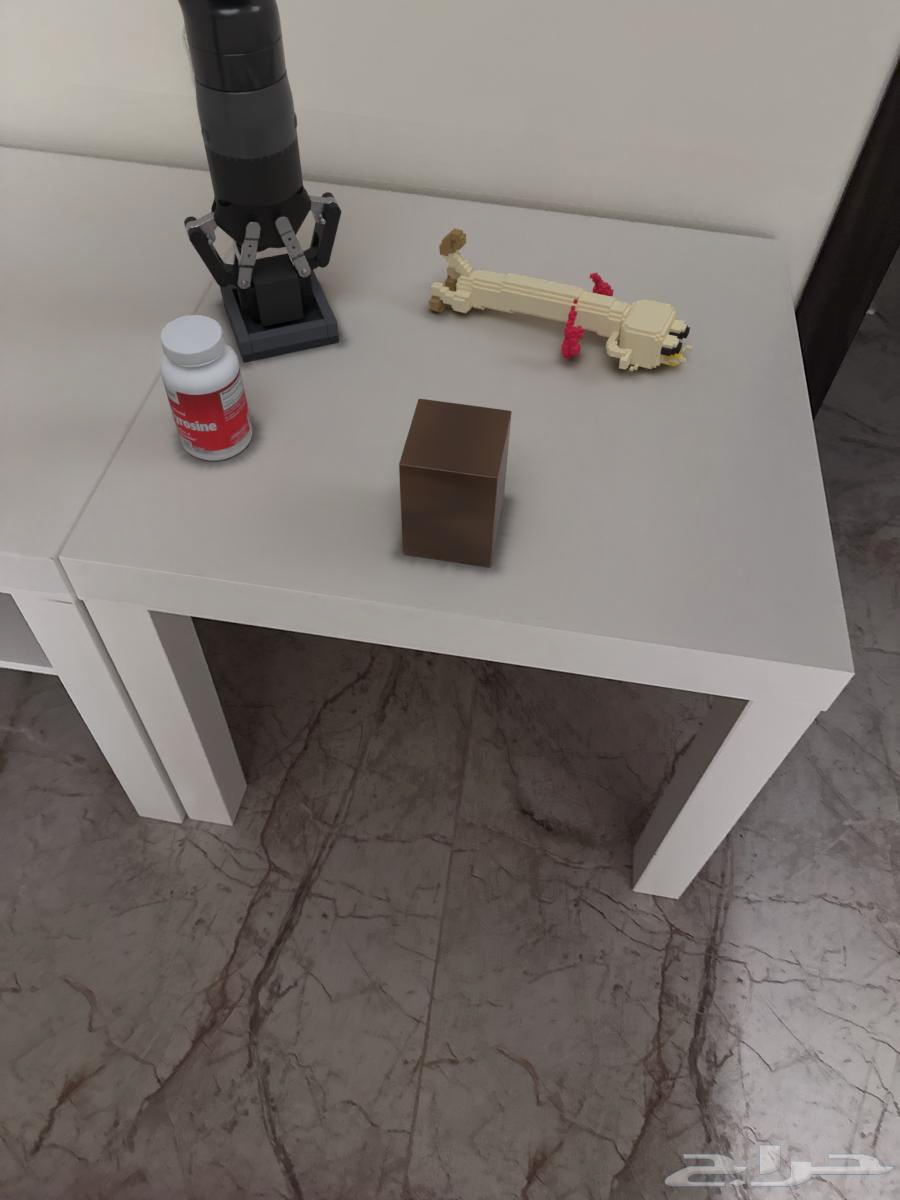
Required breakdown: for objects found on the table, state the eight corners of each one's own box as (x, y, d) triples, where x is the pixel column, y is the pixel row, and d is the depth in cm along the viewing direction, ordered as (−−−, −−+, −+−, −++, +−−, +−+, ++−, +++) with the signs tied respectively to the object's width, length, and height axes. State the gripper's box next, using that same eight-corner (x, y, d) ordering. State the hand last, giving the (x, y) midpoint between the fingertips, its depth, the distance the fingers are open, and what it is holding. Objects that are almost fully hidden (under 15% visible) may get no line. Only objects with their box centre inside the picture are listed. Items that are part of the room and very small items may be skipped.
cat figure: (421, 337, 90) (671, 396, 83) (413, 256, 84) (684, 312, 76) (464, 282, 96) (702, 333, 88) (459, 201, 89) (717, 249, 81)
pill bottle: (166, 445, 79) (132, 340, 70) (212, 404, 83) (186, 298, 74) (223, 473, 78) (196, 369, 69) (268, 430, 81) (247, 325, 72)
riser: (402, 554, 73) (398, 464, 65) (420, 490, 77) (418, 397, 69) (490, 567, 72) (497, 478, 64) (503, 502, 76) (511, 410, 68)
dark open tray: (243, 362, 86) (239, 342, 84) (223, 304, 91) (219, 284, 89) (339, 342, 88) (337, 322, 86) (314, 287, 93) (312, 266, 91)
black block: (262, 327, 87) (255, 285, 83) (253, 302, 89) (245, 260, 85) (304, 318, 88) (298, 276, 84) (293, 294, 90) (288, 252, 86)
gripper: (323, 96, 78) (339, 274, 92) (153, 121, 75) (196, 302, 89) (347, 139, 74) (361, 319, 88) (168, 168, 71) (211, 350, 85)
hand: (278, 309), depth 88 cm, fingers closed on black block, 4 cm apart
